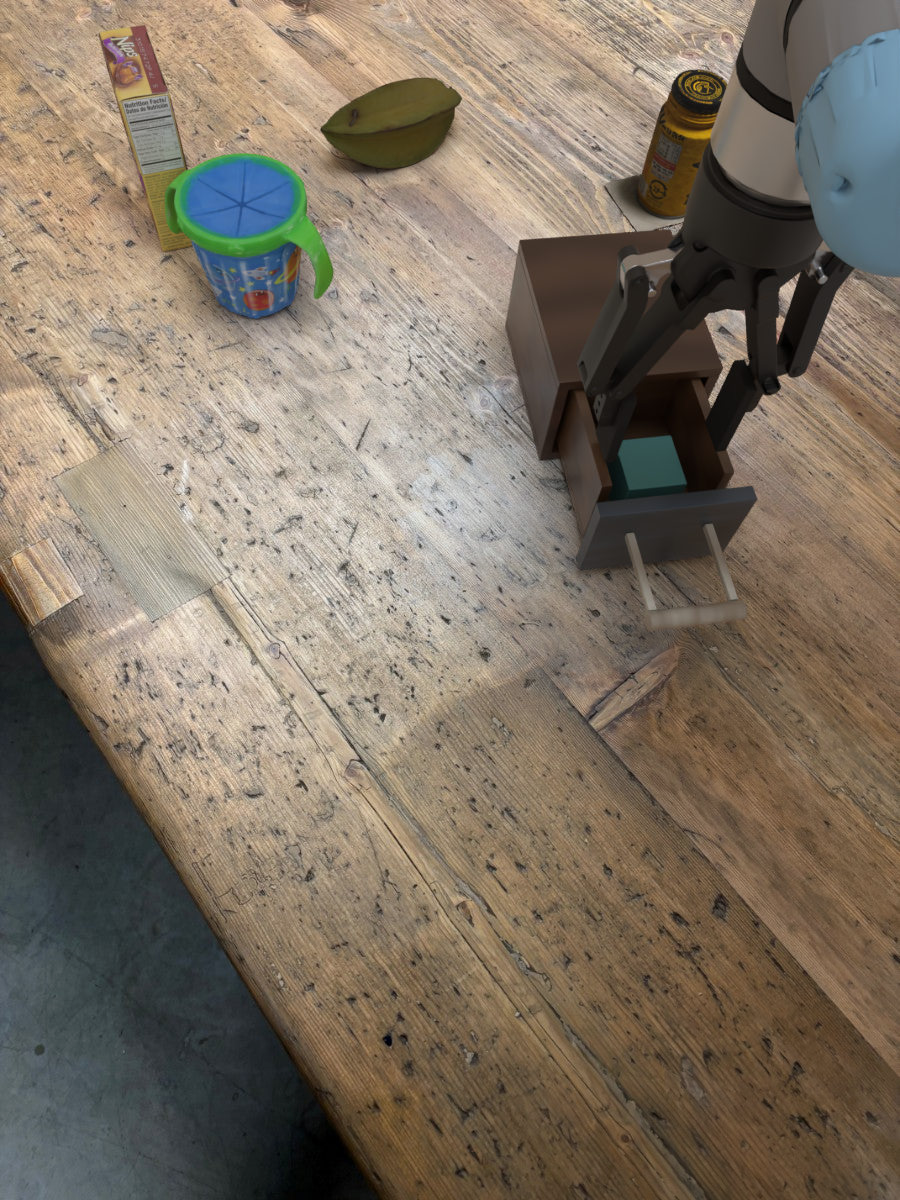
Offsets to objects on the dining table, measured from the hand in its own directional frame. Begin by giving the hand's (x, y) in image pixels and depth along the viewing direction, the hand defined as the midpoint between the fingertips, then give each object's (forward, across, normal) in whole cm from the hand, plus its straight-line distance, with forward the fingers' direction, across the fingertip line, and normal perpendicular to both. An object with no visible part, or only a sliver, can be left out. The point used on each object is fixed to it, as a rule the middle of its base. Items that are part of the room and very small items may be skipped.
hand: (660, 441), depth 67 cm
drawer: (+8, 0, +2) cm, 9 cm away
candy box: (+9, +35, -37) cm, 52 cm away
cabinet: (+9, 0, -13) cm, 16 cm away
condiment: (+9, -12, -35) cm, 38 cm away
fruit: (+8, +13, -45) cm, 48 cm away
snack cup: (+9, +28, -27) cm, 40 cm away
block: (+7, 0, 0) cm, 7 cm away
